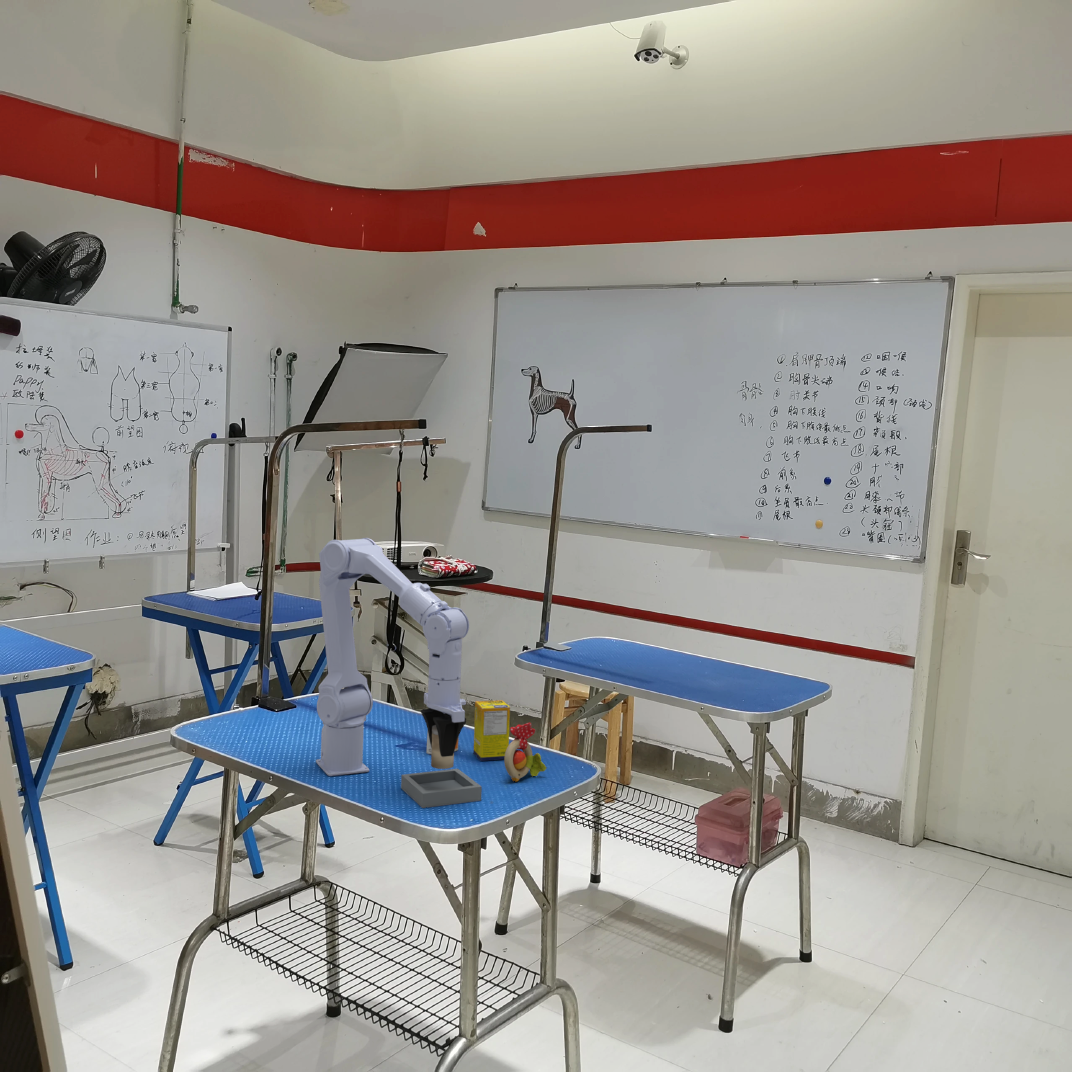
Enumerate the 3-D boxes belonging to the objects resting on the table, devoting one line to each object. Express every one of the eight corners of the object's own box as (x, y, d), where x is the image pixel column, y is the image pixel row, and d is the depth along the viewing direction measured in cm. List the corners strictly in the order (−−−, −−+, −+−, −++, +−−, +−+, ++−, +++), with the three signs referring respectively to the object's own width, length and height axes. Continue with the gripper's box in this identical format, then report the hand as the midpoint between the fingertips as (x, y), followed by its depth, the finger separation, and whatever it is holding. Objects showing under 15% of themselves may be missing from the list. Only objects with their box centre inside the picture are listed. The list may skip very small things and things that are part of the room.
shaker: (427, 763, 180) (428, 725, 179) (448, 761, 182) (449, 723, 181) (436, 770, 176) (437, 730, 176) (457, 767, 178) (458, 728, 178)
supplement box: (500, 751, 207) (502, 699, 206) (508, 760, 202) (510, 706, 201) (472, 753, 205) (474, 700, 205) (480, 761, 200) (482, 707, 199)
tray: (401, 788, 182) (401, 774, 181) (457, 781, 187) (457, 768, 186) (422, 808, 172) (422, 793, 172) (481, 800, 177) (481, 786, 177)
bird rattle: (529, 795, 187) (553, 766, 194) (517, 747, 182) (542, 718, 189) (501, 789, 190) (526, 760, 197) (489, 741, 186) (515, 713, 192)
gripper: (481, 684, 173) (479, 761, 174) (450, 667, 186) (447, 739, 187) (443, 687, 170) (441, 765, 171) (414, 669, 183) (411, 742, 184)
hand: (442, 752), depth 179 cm, fingers closed on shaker, 4 cm apart
